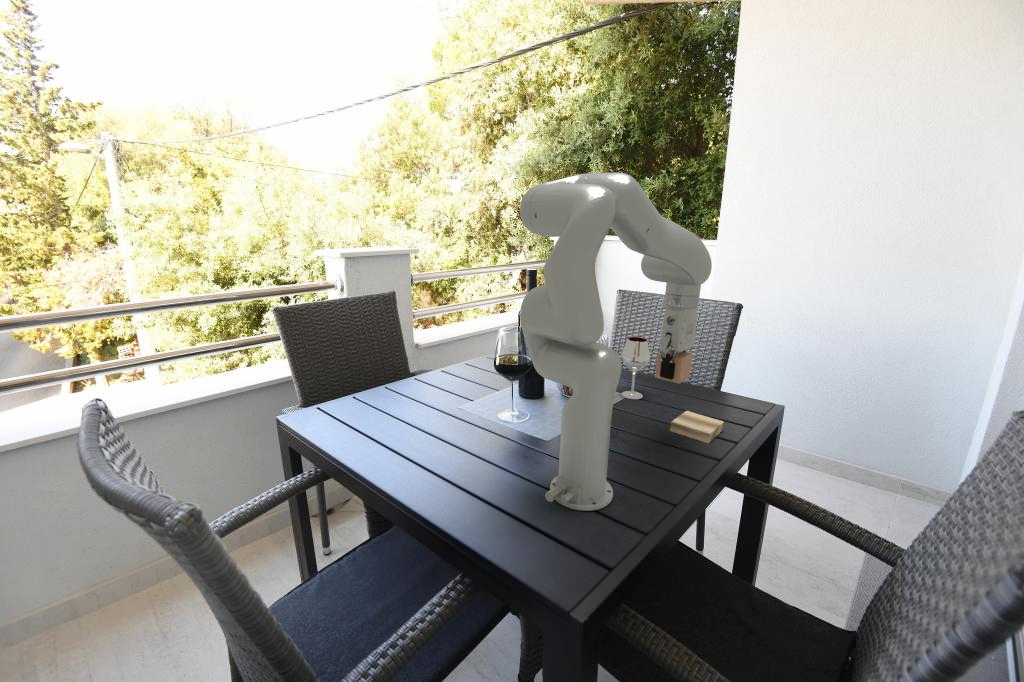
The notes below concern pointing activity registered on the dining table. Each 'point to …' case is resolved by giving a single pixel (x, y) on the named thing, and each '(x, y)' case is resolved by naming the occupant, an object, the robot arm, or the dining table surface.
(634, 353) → the wineglass
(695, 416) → the oak block
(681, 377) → the painted cube
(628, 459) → the dining table surface
